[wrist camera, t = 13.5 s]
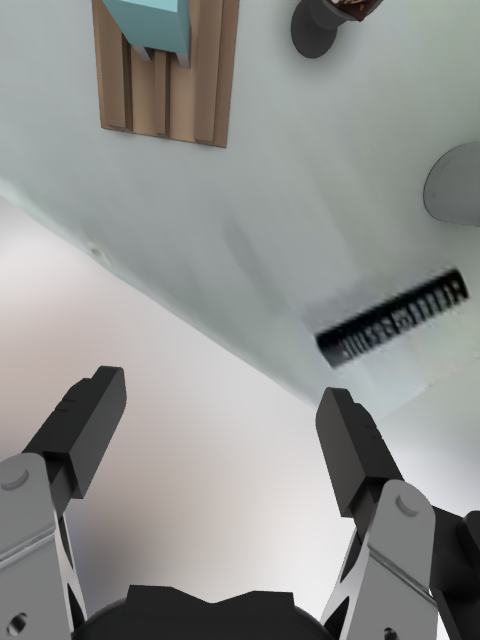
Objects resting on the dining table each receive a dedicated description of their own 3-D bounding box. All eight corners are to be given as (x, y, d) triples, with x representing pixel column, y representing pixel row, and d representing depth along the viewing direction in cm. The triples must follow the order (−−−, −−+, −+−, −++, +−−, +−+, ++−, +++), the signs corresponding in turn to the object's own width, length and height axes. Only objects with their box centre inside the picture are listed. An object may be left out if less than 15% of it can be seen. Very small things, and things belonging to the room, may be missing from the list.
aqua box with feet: (193, 30, 28) (178, -55, 18) (191, 70, 29) (177, 12, 19) (139, 19, 27) (94, -75, 17) (140, 61, 29) (99, -4, 19)
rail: (243, -48, 26) (246, -82, 23) (225, 147, 33) (226, 143, 30) (88, -85, 25) (67, -128, 21) (103, 128, 32) (89, 121, 28)
